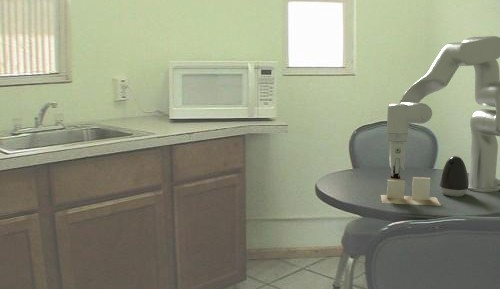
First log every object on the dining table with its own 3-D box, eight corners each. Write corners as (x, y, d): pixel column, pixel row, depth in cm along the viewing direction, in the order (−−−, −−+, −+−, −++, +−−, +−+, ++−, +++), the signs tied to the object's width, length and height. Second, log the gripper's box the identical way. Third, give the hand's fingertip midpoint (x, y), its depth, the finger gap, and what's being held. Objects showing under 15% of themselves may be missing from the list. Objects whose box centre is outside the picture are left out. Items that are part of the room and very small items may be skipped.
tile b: (403, 196, 186) (405, 179, 182) (403, 198, 185) (405, 181, 180) (386, 195, 187) (387, 178, 183) (386, 198, 186) (388, 181, 181)
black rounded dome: (433, 195, 191) (436, 156, 189) (446, 190, 198) (448, 152, 196) (460, 201, 184) (463, 160, 181) (472, 195, 191) (475, 156, 188)
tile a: (428, 198, 185) (429, 177, 183) (429, 200, 183) (430, 178, 182) (411, 198, 186) (412, 177, 184) (412, 199, 184) (413, 177, 183)
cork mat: (436, 198, 187) (436, 197, 187) (441, 207, 176) (441, 205, 176) (380, 196, 191) (380, 194, 190) (382, 204, 180) (382, 202, 180)
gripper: (410, 141, 175) (407, 192, 178) (406, 134, 190) (403, 182, 193) (387, 140, 177) (385, 191, 180) (385, 134, 191) (383, 181, 194)
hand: (395, 186), depth 186 cm, fingers closed
